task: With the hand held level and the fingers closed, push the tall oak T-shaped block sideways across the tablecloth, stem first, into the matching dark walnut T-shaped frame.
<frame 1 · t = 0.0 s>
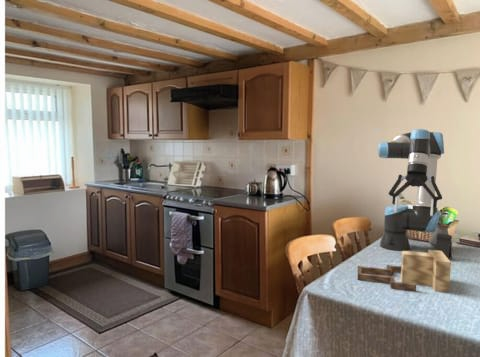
hand: (413, 214, 151), 28 cm above the table, tool tilted 20°, fingers open, 13 cm apart
oak T block: (422, 282, 150), on the table
coffee pot: (440, 245, 206), on the table
phone stand: (442, 258, 183), on the table
walnut T frame: (386, 278, 154), on the table
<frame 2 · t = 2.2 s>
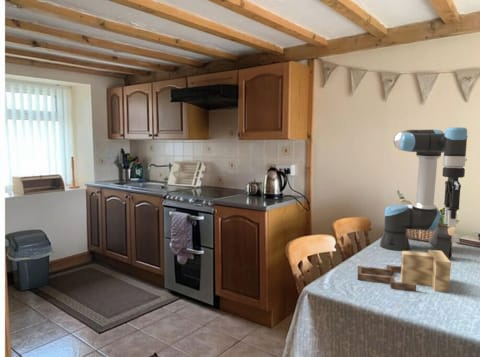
hand: (450, 225, 145), 25 cm above the table, tool pointing down, fingers open, 5 cm apart
nothing on the table moved.
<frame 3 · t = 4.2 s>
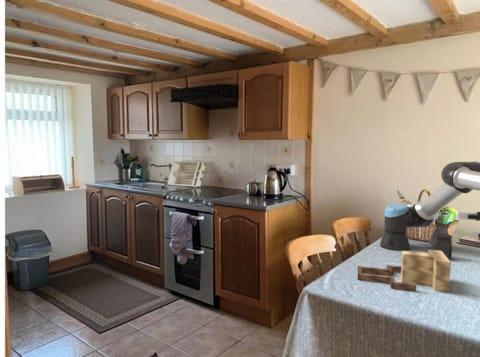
hand: (457, 215, 144), 29 cm above the table, tool horizontal, fingers closed
nothing on the table moved.
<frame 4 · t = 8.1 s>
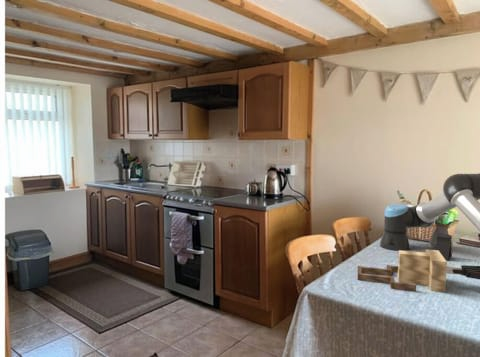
hand: (443, 269, 146), 7 cm above the table, tool horizontal, fingers closed
oak T block: (419, 282, 150), on the table, touching gripper
everything else where it was.
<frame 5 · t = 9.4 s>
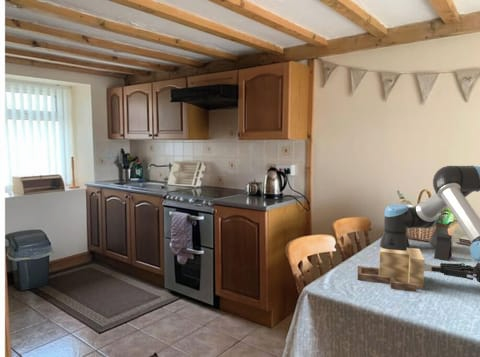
hand: (422, 266, 148), 7 cm above the table, tool horizontal, fingers closed
oak T block: (399, 279, 153), on the table, touching gripper
everything else where it was.
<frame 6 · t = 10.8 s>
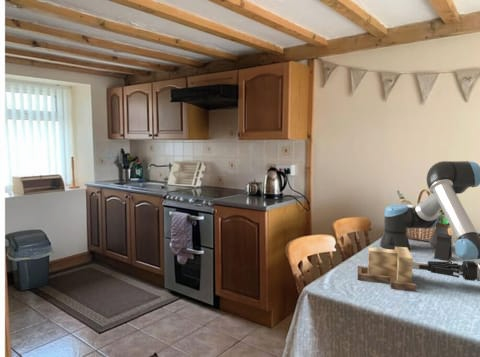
hand: (410, 264, 151), 7 cm above the table, tool horizontal, fingers closed
oak T block: (387, 278, 154), on the table, touching gripper
everything else where it was.
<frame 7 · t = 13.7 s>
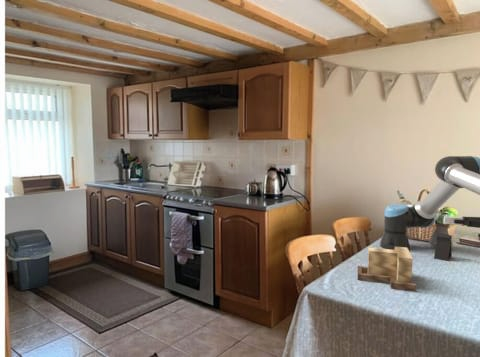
hand: (444, 220, 145), 27 cm above the table, tool horizontal, fingers closed
oak T block: (387, 278, 154), on the table
everything else where it was.
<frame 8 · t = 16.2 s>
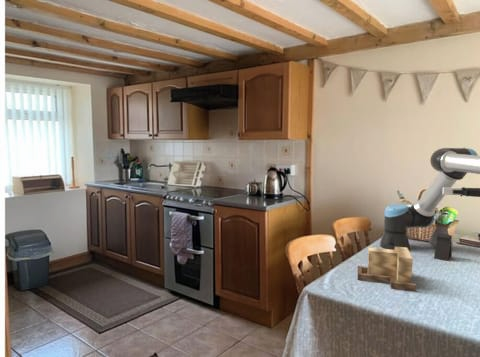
hand: (443, 190, 148), 38 cm above the table, tool horizontal, fingers closed
nothing on the table moved.
at the end: oak T block 0.8 cm from the walnut T frame (horizontally); oak T block tilted 0°; oak T block moved 13.3 cm from its start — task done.
